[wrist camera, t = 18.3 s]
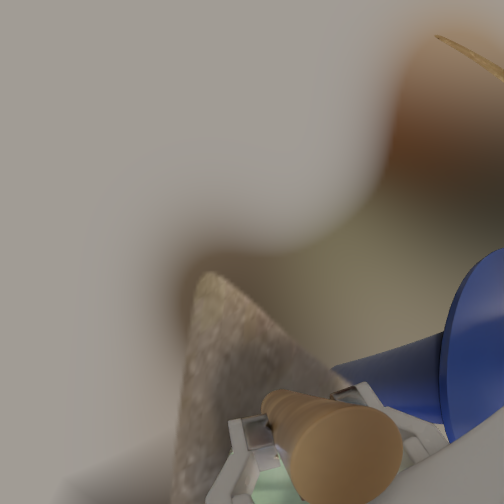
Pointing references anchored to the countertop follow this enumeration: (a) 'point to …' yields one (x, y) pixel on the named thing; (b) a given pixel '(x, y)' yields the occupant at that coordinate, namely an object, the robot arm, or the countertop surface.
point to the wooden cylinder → (333, 447)
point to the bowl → (275, 487)
